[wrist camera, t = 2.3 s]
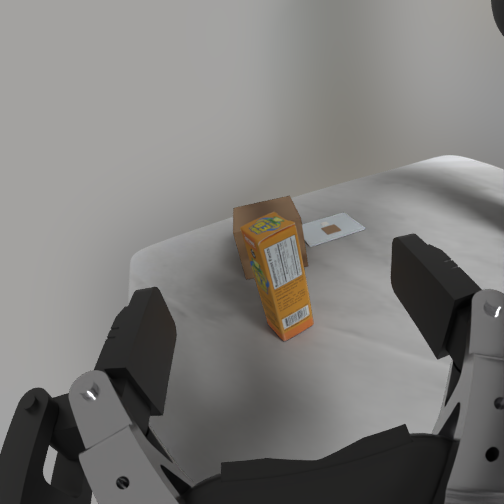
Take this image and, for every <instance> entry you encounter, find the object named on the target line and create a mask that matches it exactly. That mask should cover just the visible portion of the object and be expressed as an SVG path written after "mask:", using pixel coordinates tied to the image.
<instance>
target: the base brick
mask: <svg viewBox="0 0 504 504" xmlns="http://www.w3.org/2000/svg"><path fill="white" fill-rule="evenodd" d="M272 212H276V213H277V214H278V215H279V216H281V217H282V218H284V219H286V220H288V221H293V222H295V226H296V229H297V234H298V239H299V244H300V249H301V255H302V260H303V265H304V267H307V266H308V261H307V255H306V248H305V241H304V235H303V228H302V222H301V217H300V215H299V213H298V211H297V209H296V207H295V205H294V203H293V201H292V199H291V197H290V196H287V197H282V198H277V199H272V200H268V201H263V202H259V203H254V204H249V205H245V206H241V207H236V208H234V212H233V234H234V238H235V241H236V245H237V248H238V252H239V256H240V259H241V263H242V266H243V270H244V273H245V277H246V280H247V279H251V278H255V277H254V274H253V271H252V267H251V264H250V260H249V256H248V253H247V249H246V246H245V242H244V239H243V236H242V233H241V230H240V227H241V226H244V225H245V224H247V223H249V222H252V221H254V220H256V219H258V218H260V217H263V216H265V215H267V214H269V213H272Z"/></svg>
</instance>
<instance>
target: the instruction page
mask: <svg viewBox="0 0 504 504" xmlns="http://www.w3.org/2000/svg"><path fill="white" fill-rule="evenodd" d="M302 228H303V235H304V241H305V242H306V243H307V244H308V245H309V246H310V247H312V246H315V245H318V244H322V243H325V242H328V241H331V240H334V239H337V238H340V237H343V236H346V235H349V234H352V233H356V232H359V231H362V230H365V229H366V228H365V227H364V226H362V225H361V224H360V223H358V222H357V221H355V220H354V219H353V218H351V217H350V216H349V215H347V214H346V213H344V212H343V213H339V214H336V215H332V216H329V217H326V218H322V219H319V220H316V221H312V222H309V223H306V224H302Z"/></svg>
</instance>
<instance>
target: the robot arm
mask: <svg viewBox="0 0 504 504" xmlns="http://www.w3.org/2000/svg"><path fill="white" fill-rule="evenodd" d="M491 4H492V11H493V16H494V19H495V22H496V24H497V27H498V28H499V30H500V32H501V33H502V35H503V36H504V0H491ZM391 284H392V288H393V290H394V293H395V294H396V296H397V297H398V299H399V300H400V302H401V303H402V305H403V306H404V308H405V309H406V311H407V312H408V314H409V315H410V317H411V318H412V320H413V321H414V323H415V324H416V326H417V327H418V329H419V331H420V332H421V334H422V335H423V337H424V338H425V340H426V342H427V343H428V345H429V347H430V348H431V350H432V351H433V353H434V355H435V356H436V358H437V360H438V359H440V358H443V357H445V356H447V355H450V356H451V358H452V362H451V364H450V369H449V374H448V379H447V384H446V389H445V393H444V398H443V402H442V406H441V410H440V414H439V417H438V419H437V422H436V424H435V426H434V429H433V431H432V434H426V433H413V434H409V432H408V429H407V427H406V424H404V425H401V426H398V427H395V428H392V429H389V430H386V431H383V432H380V433H377V434H374V435H371V436H368V437H364V438H362V439H360V440H358V441H356V442H354V443H353V444H351V445H349V446H347V447H345V448H343V449H341V450H339V451H337V452H335V453H333V454H331V455H329V456H327V457H324V458H322V459H320V460H313V461H311V460H286V459H271V458H264V459H256V460H247V461H236V462H223V463H221V474H217V475H215V476H212V477H210V478H207V479H205V480H203V481H201V482H200V483H198V484H195V483H194V482H193V481H192V480H191V479H190V478H189V477H188V476H187V475H186V474H185V473H184V472H183V470H182V469H181V468H180V467H179V466H178V464H177V463H176V462H175V460H174V459H173V458H172V456H171V455H170V454H169V452H168V451H167V449H166V448H165V447H164V445H163V444H162V442H161V441H160V439H159V438H158V436H157V435H156V434H155V432H154V431H153V429H152V428H151V426H150V425H149V424H148V423H149V418H150V416H160V415H163V411H164V405H165V399H166V393H167V387H168V381H169V375H170V370H171V364H172V359H173V353H174V348H175V343H176V336H177V333H176V326H175V323H174V320H173V318H172V316H171V314H170V312H169V309H168V307H167V305H166V303H165V301H164V299H163V296H162V294H161V292H160V290H159V289H158V288H157V287H151V288H146V289H141V290H136V291H135V292H134V294H133V296H132V298H131V301H130V303H129V305H128V306H127V307H124V309H123V310H122V311H121V312H120V313H119V314H118V316H116V318H115V321H114V322H113V325H112V327H111V330H110V332H109V334H108V336H107V338H108V339H107V340H106V341H105V344H104V346H103V349H102V351H101V354H100V356H99V358H98V361H97V363H96V366H95V369H94V371H89V372H86V373H85V374H82V375H81V376H80V377H78V378H77V380H75V381H74V383H73V384H72V386H71V388H70V391H69V393H68V394H64V395H61V396H58V397H54V398H52V397H51V396H50V395H49V394H48V393H47V392H46V391H45V390H44V389H42V388H34V389H32V390H29V391H28V392H27V393H26V394H25V395H24V396H23V397H22V398H21V400H20V402H19V403H18V406H17V408H16V411H15V414H14V416H13V419H12V421H11V424H10V427H9V430H8V432H7V435H6V438H5V441H4V444H3V447H2V450H1V454H0V504H91V497H92V492H93V494H94V496H95V498H96V500H97V502H98V504H504V294H503V293H502V292H499V291H497V290H492V289H485V290H482V289H481V288H480V287H479V286H478V285H477V284H476V283H475V282H474V281H473V280H472V279H471V278H470V277H469V276H468V275H467V274H466V273H465V272H464V271H463V270H462V269H461V268H460V267H458V265H457V264H456V263H455V262H454V261H453V260H452V261H451V258H450V257H449V256H447V255H446V254H445V253H444V252H443V251H442V250H440V249H438V248H436V247H434V246H432V245H430V244H429V245H427V244H426V243H425V242H424V241H423V240H422V239H420V238H419V237H418V236H417V235H416V234H409V235H405V236H400V237H396V238H394V239H393V242H392V262H391ZM49 445H50V446H51V447H52V448H54V449H55V450H56V451H58V453H57V457H56V461H55V466H54V470H53V475H52V480H51V485H50V484H48V483H47V482H46V480H45V478H44V476H43V466H44V462H45V458H46V454H47V450H48V447H49Z"/></svg>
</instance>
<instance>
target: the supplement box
mask: <svg viewBox="0 0 504 504" xmlns="http://www.w3.org/2000/svg"><path fill="white" fill-rule="evenodd" d="M240 230H241V233H242V236H243V239H244V242H245V246H246V249H247V253H248V256H249V260H250V264H251V267H252V271H253V274H254V277H255V281H256V284H257V288H258V291H259V294H260V298H261V301H262V305H263V308H264V312H265V315H266V319H267V323H268V324H269V326H270V327H271V328H272V329H273V330H274V331H275V332H276V334H277V335H278V336H279V337H280V338H281V339H282V340H283V341H287V340H289V339H291V338H292V337H294V336H296V335H298V334H299V333H301V332H303V331H304V330H306V329H307V328H309V327H310V326H312V325H313V324H314V322H313V316H312V310H311V304H310V298H309V292H308V287H307V281H306V276H305V270H304V265H303V260H302V255H301V249H300V244H299V239H298V234H297V229H296V226H295V222H293V221H288V220H286V219H284V218H282V217H281V216H279V215H278V214H277V213H276V212H272V213H269V214H267V215H265V216H263V217H260V218H258V219H256V220H254V221H252V222H249V223H247V224H245V225H244V226H241V227H240Z"/></svg>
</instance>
